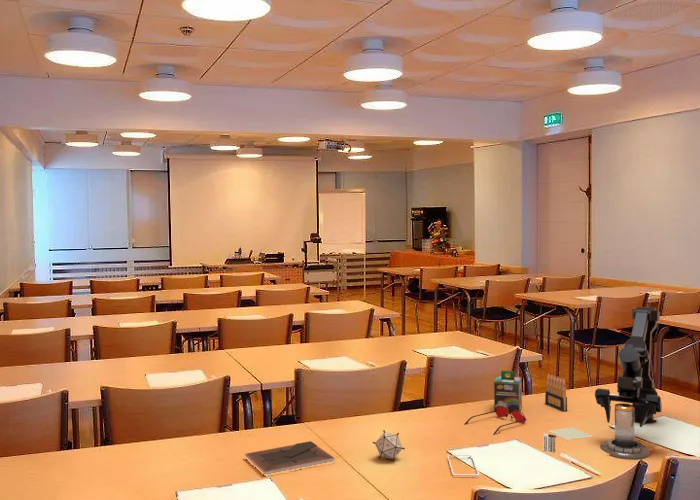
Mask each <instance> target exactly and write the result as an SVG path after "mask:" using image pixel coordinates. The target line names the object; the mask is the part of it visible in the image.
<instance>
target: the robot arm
mask: <svg viewBox="0 0 700 500" xmlns="http://www.w3.org/2000/svg"><path fill="white" fill-rule="evenodd" d="M660 314H661V313H660V310H657V307H652V306H651V307H649V306H648V307H647V306H636V308H634V309H633V308H632V309H631V320H633V323H632V330H631V335H630V338H629V339H627V340H626V341H625V343H624V346H623V347H622V348H621V349H620V350H619V352H618V359H619V363H620V367H621V369H622V372H621V376H617V383H616V385H617V386H616V387H617V388H616V389H617V390H616V391H617V394H614V393H611V392H610V389H607V388H598V387H597V389H596V390H595V391H594V397H595V401H596V404H597V405H600V407H602V408H604V410H605V415H606V420H607V421H606V422H607V423H610V420H611V409H612V406H611V403H612V402H617V403H618V402H619V403H624V404H631V405H633V406H634V422H637V423H639V427H640V428H643V426H644V425H645V424H649V423H656V422H657V419H654V415H656V414H657V413H662V407H663V405H662V404H663V403H662V398H661V396H660V395H658V391H657V389H656V387H655V382H654V380H653V379H652V377H651V357H652V356H651V354H652V335H653V333H654V331H655V330H656V329H657V327H658V322H660V316H661V315H660Z"/></svg>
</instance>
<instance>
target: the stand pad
mask: <svg viewBox="0 0 700 500" xmlns="http://www.w3.org/2000/svg"><path fill="white" fill-rule="evenodd" d="M548 432H549V433H550V434H552V435H556V437H559V438H562V439H564V440H566V441H573V440H579V439H587V438H592V437H594V436H593V435H592V434H589V433H586V432H584V431H583V430H580V429H578V428H576V427H565V428H559V429H552V430H548Z"/></svg>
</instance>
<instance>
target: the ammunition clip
mask: <svg viewBox="0 0 700 500" xmlns="http://www.w3.org/2000/svg"><path fill="white" fill-rule="evenodd" d="M546 379H547V380H546V390H545V397H544V398H545V399H544V404H545V406H548V405H549V407H550V406H551V407H550V408H553V409H556V410H558V411H560V412H563V413H565V412H568V396H567V389H566V380H565V378H562V377H559V376H556V375H555V374H554V375H553V374H551V375H550V373H549V372H548V373H547V377H546Z"/></svg>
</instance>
